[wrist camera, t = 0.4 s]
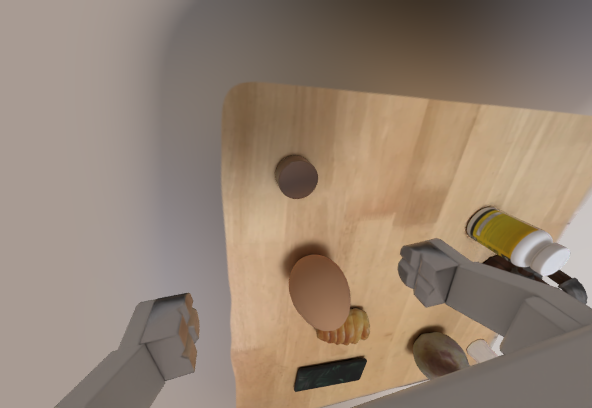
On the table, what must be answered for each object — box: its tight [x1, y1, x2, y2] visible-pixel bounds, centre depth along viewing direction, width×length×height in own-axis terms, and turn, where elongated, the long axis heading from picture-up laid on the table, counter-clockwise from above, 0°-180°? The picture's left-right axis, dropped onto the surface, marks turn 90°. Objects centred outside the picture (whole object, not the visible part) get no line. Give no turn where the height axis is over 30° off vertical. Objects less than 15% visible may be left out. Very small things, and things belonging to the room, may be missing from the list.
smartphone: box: [294, 358, 367, 392], centre depth 50 cm, size 7×1×15 cm
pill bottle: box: [467, 207, 571, 276], centre depth 37 cm, size 6×6×11 cm
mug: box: [484, 255, 587, 304], centre depth 42 cm, size 16×12×15 cm
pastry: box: [316, 308, 370, 345], centre depth 42 cm, size 9×7×4 cm
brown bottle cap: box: [275, 155, 318, 199], centre depth 28 cm, size 5×5×2 cm
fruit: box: [413, 332, 470, 380], centre depth 49 cm, size 10×9×12 cm
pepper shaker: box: [467, 339, 498, 363], centre depth 58 cm, size 5×5×11 cm
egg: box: [289, 255, 351, 331], centre depth 31 cm, size 8×8×11 cm
